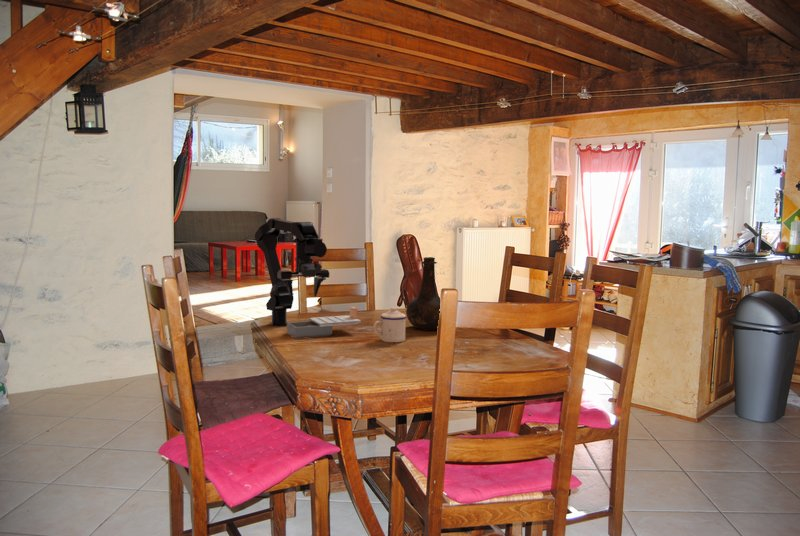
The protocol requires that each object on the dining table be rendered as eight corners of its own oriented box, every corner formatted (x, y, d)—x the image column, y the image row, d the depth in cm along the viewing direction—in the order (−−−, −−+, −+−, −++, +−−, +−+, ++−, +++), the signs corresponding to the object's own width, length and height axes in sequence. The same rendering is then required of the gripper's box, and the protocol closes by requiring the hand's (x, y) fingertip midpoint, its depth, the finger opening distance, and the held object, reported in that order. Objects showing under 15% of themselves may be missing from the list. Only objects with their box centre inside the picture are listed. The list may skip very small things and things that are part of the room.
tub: (286, 333, 236) (286, 322, 235) (322, 330, 242) (322, 320, 242) (295, 338, 227) (295, 327, 227) (332, 335, 233) (332, 324, 233)
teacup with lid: (399, 336, 234) (400, 305, 232) (409, 341, 225) (410, 309, 224) (369, 338, 229) (369, 306, 228) (377, 344, 221) (378, 311, 220)
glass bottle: (452, 333, 241) (454, 259, 238) (405, 332, 242) (407, 258, 239) (450, 324, 259) (451, 255, 256) (406, 323, 259) (407, 255, 257)
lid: (309, 321, 240) (309, 307, 240) (349, 318, 247) (349, 305, 247) (320, 326, 230) (320, 312, 229) (361, 323, 237) (361, 309, 237)
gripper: (285, 257, 226) (285, 301, 228) (334, 256, 235) (334, 298, 236) (276, 255, 236) (276, 296, 238) (324, 254, 245) (324, 294, 246)
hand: (303, 296), depth 239 cm, fingers open, 9 cm apart
